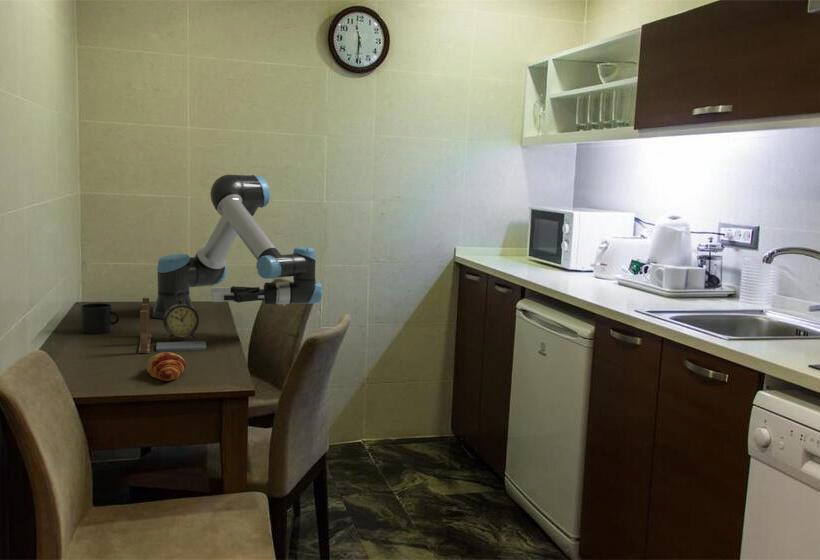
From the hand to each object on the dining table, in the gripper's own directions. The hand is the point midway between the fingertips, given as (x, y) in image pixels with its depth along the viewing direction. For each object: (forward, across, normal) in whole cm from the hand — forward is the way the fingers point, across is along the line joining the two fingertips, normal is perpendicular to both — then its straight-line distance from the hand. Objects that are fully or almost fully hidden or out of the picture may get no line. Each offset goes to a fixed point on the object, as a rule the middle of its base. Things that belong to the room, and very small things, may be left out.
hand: (211, 294), depth 251 cm
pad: (+10, -12, -15) cm, 21 cm away
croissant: (+14, -43, -16) cm, 48 cm away
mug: (+36, +16, -15) cm, 42 cm away
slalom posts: (+21, -6, -15) cm, 26 cm away
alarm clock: (+10, 0, -15) cm, 18 cm away
